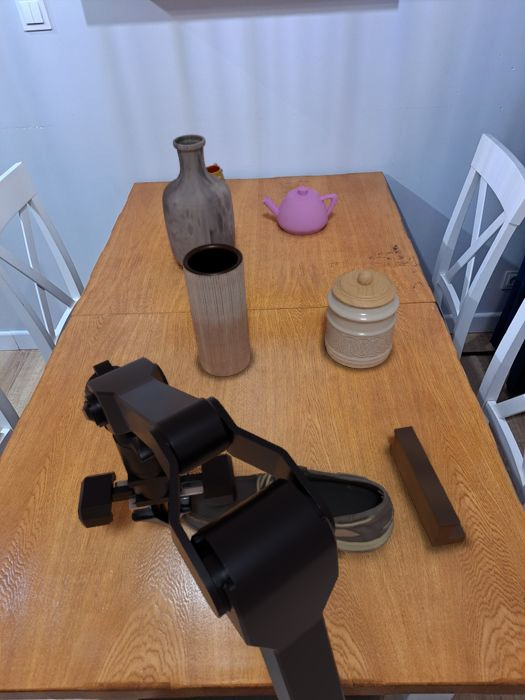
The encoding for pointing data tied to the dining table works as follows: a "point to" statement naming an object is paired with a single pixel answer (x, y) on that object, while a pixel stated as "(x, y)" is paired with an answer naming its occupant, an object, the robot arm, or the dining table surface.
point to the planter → (218, 307)
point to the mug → (216, 171)
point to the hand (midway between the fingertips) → (170, 523)
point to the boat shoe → (339, 495)
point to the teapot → (302, 210)
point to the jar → (361, 318)
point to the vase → (196, 202)
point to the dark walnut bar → (426, 489)
